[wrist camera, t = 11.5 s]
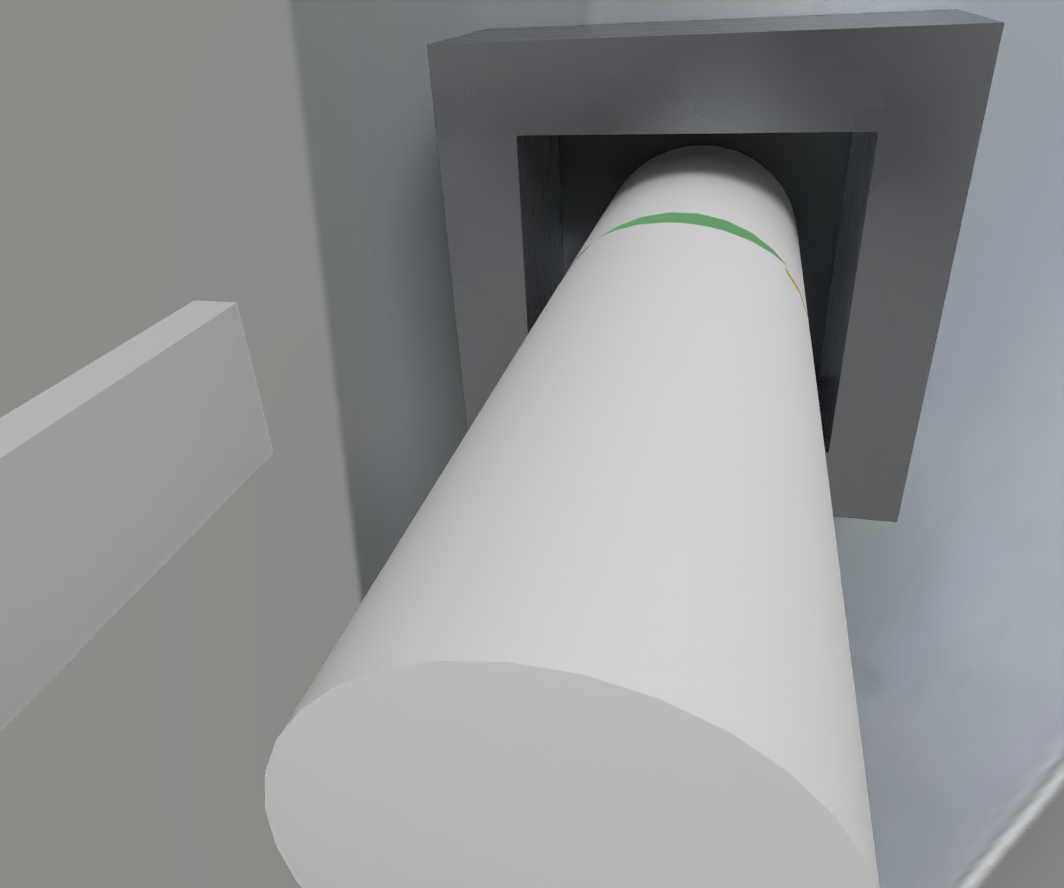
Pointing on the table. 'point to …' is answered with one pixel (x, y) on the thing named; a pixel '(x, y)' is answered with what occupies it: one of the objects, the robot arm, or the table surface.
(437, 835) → the tube
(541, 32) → the gray square frame
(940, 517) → the table surface
